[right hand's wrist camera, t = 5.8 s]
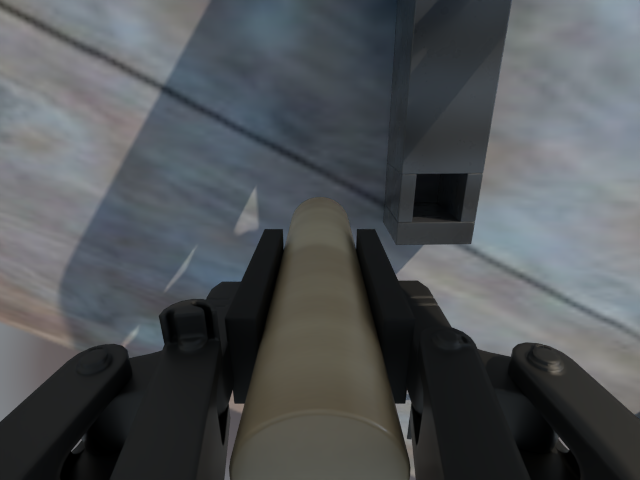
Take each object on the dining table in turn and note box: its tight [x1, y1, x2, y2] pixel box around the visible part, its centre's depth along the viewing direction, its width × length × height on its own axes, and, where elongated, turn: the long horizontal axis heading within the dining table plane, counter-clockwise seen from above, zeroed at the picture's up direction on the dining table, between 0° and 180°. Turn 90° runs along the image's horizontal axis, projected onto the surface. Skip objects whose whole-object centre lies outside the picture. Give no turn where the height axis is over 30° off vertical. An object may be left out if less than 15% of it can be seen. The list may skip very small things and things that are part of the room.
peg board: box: [383, 0, 512, 245], centre depth 27 cm, size 24×6×6 cm, turn 0°
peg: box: [229, 197, 410, 480], centre depth 12 cm, size 3×3×14 cm
